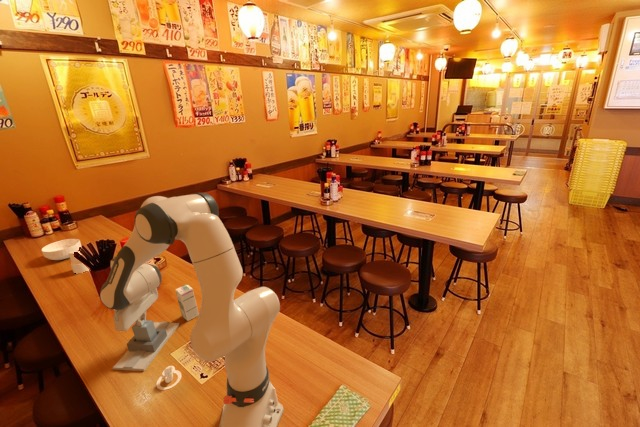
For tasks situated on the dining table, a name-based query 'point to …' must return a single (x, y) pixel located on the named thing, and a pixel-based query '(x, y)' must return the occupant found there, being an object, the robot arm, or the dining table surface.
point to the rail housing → (145, 348)
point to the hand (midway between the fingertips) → (142, 323)
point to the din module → (144, 331)
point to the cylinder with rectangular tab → (77, 263)
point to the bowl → (61, 249)
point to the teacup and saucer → (168, 377)
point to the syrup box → (187, 302)
